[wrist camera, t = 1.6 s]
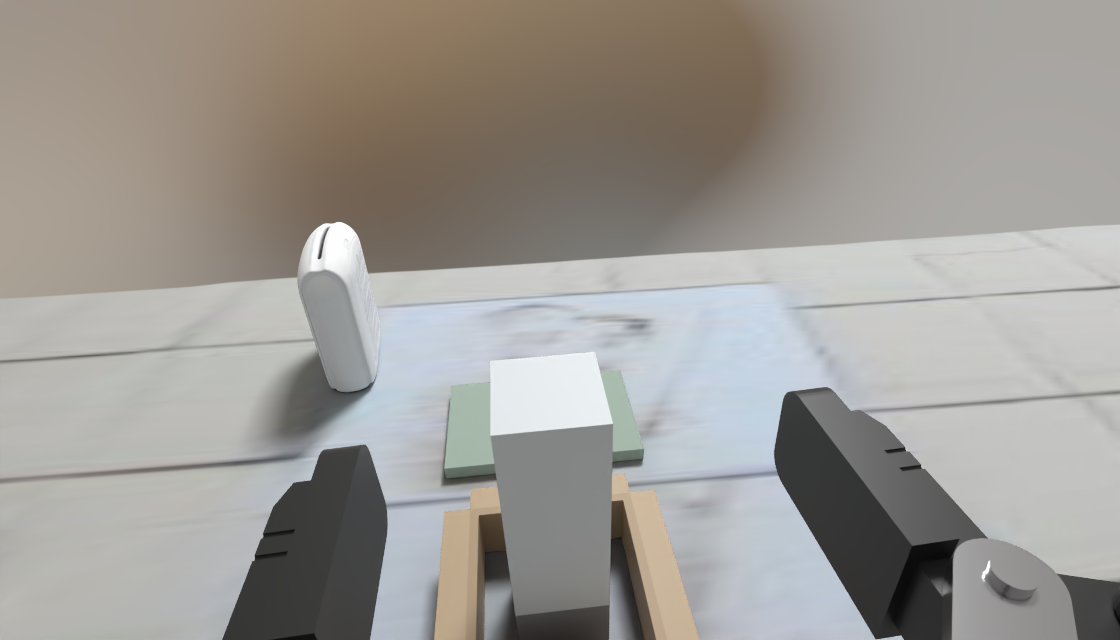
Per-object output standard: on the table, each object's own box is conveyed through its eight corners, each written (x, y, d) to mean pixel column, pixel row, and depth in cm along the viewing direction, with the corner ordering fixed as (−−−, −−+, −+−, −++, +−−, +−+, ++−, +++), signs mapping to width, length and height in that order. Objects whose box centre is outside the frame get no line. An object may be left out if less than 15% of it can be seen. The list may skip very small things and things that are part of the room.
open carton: (439, 757, 27) (427, 722, 25) (453, 528, 37) (446, 491, 35) (705, 722, 27) (713, 685, 26) (646, 508, 38) (648, 470, 36)
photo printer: (340, 330, 57) (305, 212, 50) (384, 324, 58) (356, 207, 51) (325, 398, 48) (281, 267, 42) (378, 390, 49) (343, 259, 42)
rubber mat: (446, 478, 41) (444, 468, 40) (453, 395, 48) (451, 385, 48) (643, 458, 42) (643, 448, 41) (619, 379, 49) (620, 370, 48)
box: (521, 658, 30) (490, 435, 21) (517, 578, 34) (490, 361, 25) (608, 648, 31) (613, 423, 22) (595, 569, 34) (594, 351, 26)
